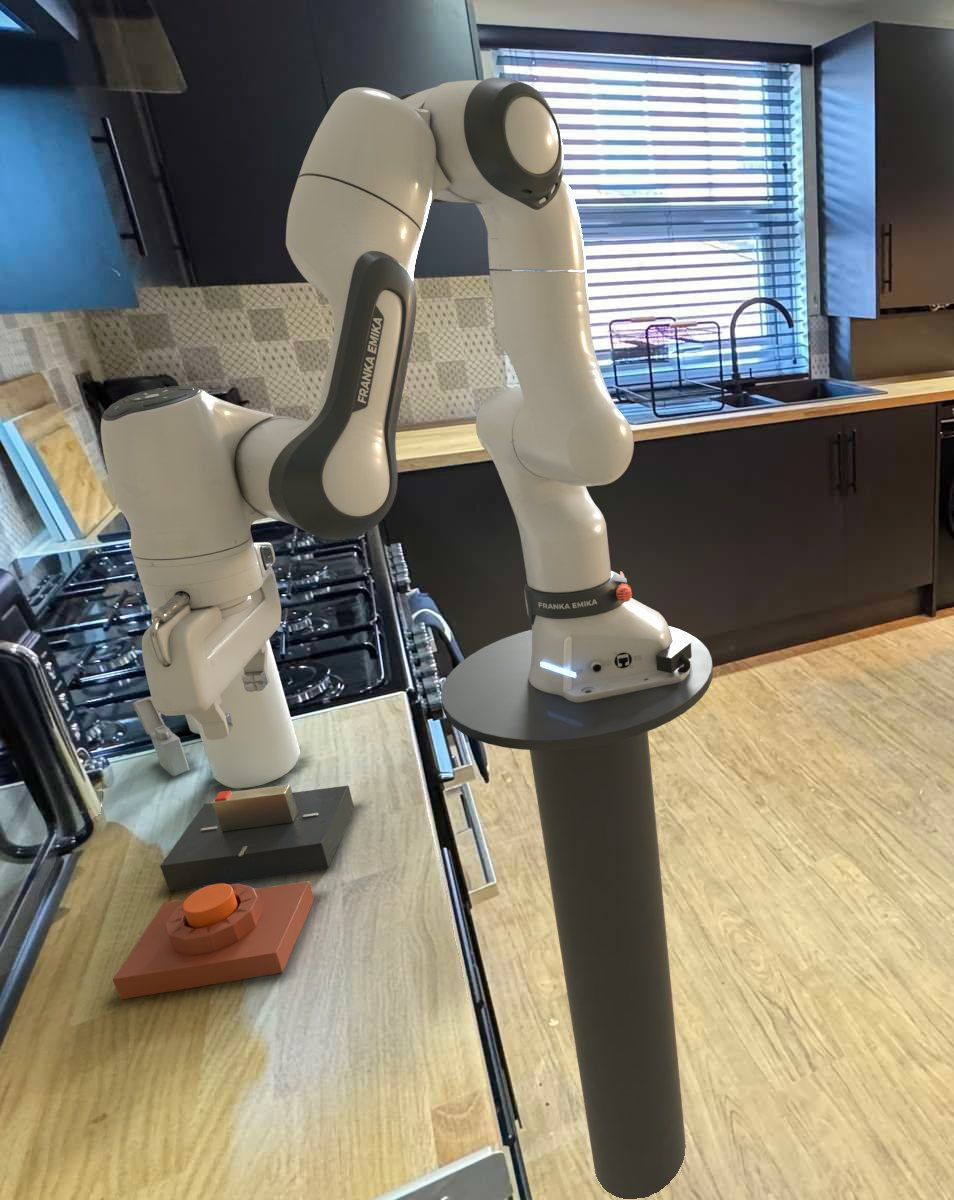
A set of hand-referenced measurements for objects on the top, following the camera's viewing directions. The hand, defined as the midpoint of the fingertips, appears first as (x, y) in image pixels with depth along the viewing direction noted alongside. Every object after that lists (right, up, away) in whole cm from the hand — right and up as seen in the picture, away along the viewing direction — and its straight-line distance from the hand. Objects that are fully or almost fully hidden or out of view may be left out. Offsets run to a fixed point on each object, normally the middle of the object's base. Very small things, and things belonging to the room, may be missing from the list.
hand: (240, 710), depth 81 cm
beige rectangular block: (-1, -12, +4) cm, 13 cm away
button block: (+3, -20, -7) cm, 21 cm away
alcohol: (-10, -10, +19) cm, 24 cm away
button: (+3, -16, -8) cm, 19 cm away
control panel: (-1, -15, +6) cm, 16 cm away
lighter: (-22, -9, +20) cm, 31 cm away
